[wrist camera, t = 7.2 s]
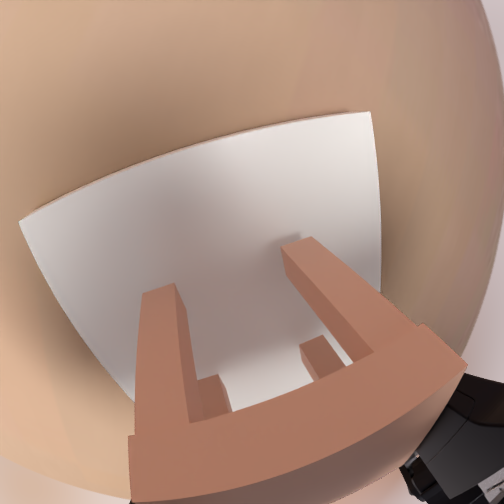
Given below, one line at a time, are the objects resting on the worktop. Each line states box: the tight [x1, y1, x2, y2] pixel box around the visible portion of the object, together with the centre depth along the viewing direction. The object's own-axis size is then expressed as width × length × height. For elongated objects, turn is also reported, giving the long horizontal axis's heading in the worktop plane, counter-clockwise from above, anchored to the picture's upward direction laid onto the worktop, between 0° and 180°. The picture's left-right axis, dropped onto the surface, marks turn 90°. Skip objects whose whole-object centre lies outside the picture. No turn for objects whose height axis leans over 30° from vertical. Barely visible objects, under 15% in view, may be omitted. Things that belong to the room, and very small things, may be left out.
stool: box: [128, 236, 468, 504], centre depth 8 cm, size 6×6×7 cm
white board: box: [18, 112, 381, 412], centre depth 12 cm, size 14×14×2 cm
